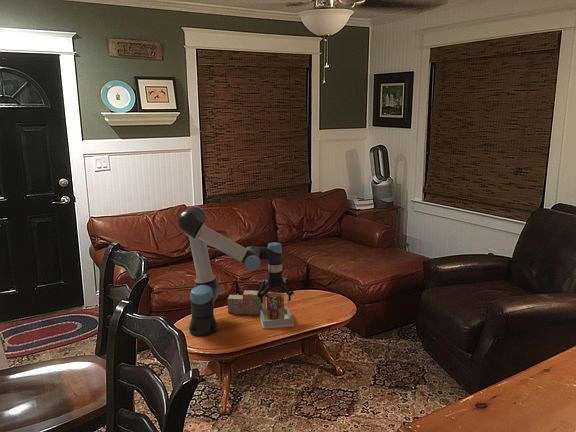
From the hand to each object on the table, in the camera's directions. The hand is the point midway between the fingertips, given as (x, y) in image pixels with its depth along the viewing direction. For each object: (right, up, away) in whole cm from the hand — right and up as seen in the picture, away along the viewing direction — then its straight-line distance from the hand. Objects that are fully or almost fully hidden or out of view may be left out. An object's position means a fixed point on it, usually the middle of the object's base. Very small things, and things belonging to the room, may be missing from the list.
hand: (275, 307), depth 277 cm
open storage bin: (0, -8, +2) cm, 8 cm away
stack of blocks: (-17, -6, +14) cm, 23 cm away
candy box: (0, -7, +2) cm, 7 cm away
